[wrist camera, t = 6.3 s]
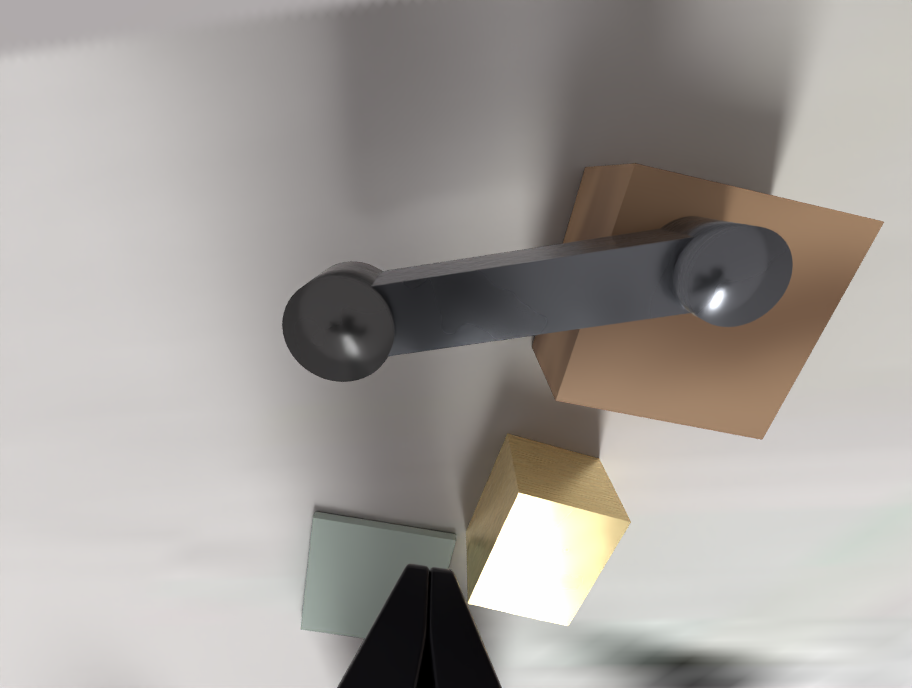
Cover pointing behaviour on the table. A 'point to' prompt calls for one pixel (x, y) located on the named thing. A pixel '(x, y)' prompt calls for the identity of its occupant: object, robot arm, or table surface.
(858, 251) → the plane block
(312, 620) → the glass plate
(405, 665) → the robot arm
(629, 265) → the lever
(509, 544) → the brass block
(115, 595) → the table surface
